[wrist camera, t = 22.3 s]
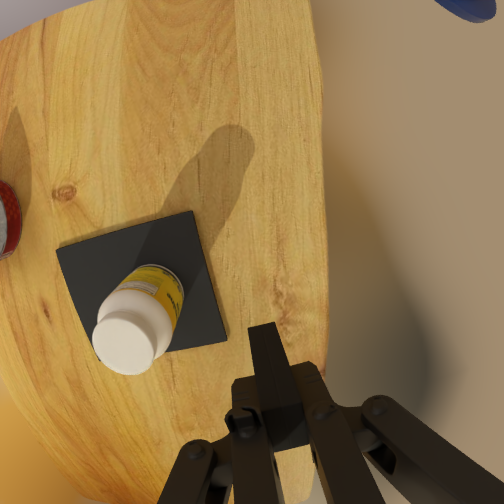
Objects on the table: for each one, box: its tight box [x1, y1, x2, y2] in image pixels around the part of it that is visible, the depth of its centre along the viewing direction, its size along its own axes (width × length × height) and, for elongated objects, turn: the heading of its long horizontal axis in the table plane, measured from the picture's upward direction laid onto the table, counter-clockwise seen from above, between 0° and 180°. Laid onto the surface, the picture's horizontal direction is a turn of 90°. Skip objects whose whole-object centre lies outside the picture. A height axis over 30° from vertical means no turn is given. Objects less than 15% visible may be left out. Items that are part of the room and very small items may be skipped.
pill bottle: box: [92, 264, 184, 375], centre depth 23 cm, size 6×6×11 cm
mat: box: [56, 211, 227, 361], centre depth 29 cm, size 16×14×1 cm
